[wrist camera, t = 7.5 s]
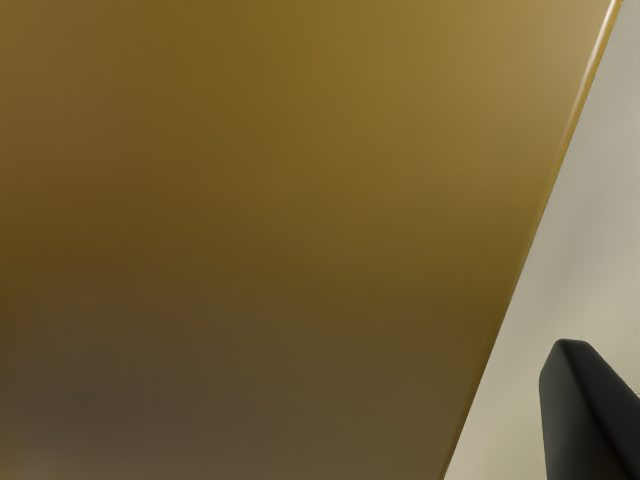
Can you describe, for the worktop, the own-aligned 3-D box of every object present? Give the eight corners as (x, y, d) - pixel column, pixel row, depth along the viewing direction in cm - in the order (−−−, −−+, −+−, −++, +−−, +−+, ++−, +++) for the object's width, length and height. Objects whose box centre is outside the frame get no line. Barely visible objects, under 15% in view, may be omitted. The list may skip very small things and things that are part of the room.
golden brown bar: (502, -193, 6) (666, -89, 2) (362, 486, 14) (355, 719, 11) (37, -228, 6) (-427, -179, 2) (173, 465, 14) (107, 691, 11)
